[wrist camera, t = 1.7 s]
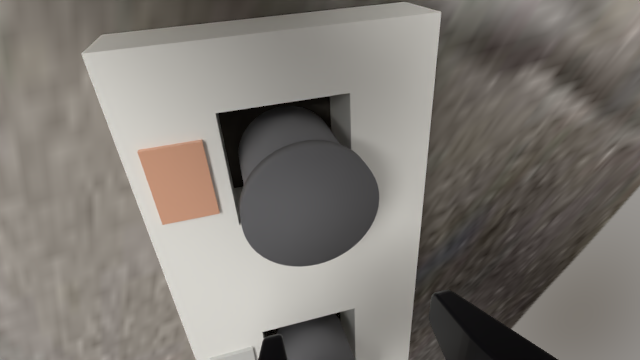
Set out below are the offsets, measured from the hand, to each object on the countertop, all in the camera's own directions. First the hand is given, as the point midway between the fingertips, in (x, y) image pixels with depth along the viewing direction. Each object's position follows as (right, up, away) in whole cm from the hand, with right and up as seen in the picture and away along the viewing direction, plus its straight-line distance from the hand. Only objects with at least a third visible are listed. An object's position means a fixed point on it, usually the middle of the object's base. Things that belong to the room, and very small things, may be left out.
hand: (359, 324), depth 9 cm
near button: (-2, +5, +7) cm, 9 cm away
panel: (-2, 0, +12) cm, 13 cm away
